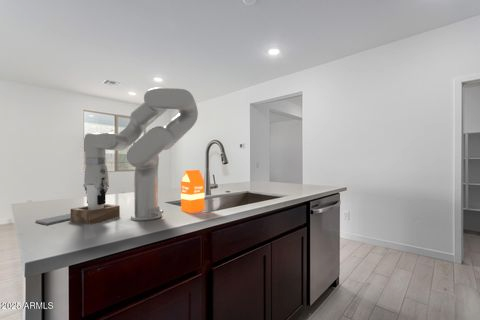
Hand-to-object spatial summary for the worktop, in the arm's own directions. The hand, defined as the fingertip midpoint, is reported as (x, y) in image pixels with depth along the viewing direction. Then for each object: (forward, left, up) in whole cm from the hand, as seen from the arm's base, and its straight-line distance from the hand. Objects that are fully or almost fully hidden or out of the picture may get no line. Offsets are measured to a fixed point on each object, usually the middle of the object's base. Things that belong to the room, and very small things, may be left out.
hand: (96, 203), depth 100 cm
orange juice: (-28, -31, -7) cm, 42 cm away
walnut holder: (0, 0, -7) cm, 7 cm away
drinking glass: (0, 0, -7) cm, 7 cm away
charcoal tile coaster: (+13, +7, -7) cm, 16 cm away
